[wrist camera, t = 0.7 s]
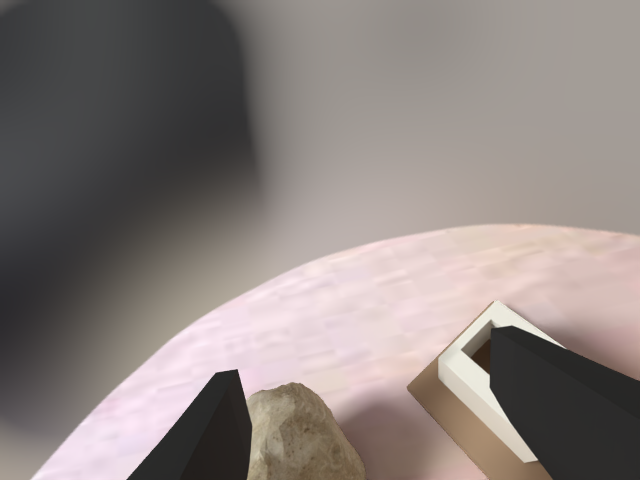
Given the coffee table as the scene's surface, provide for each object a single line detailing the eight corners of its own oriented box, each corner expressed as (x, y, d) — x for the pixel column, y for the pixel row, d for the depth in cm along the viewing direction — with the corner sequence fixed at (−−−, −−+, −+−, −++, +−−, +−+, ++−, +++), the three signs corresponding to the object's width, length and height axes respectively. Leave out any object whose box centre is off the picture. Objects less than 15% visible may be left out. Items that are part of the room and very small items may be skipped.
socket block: (578, 399, 19) (612, 380, 15) (524, 462, 18) (546, 458, 14) (487, 328, 23) (496, 299, 19) (438, 378, 22) (438, 357, 18)
